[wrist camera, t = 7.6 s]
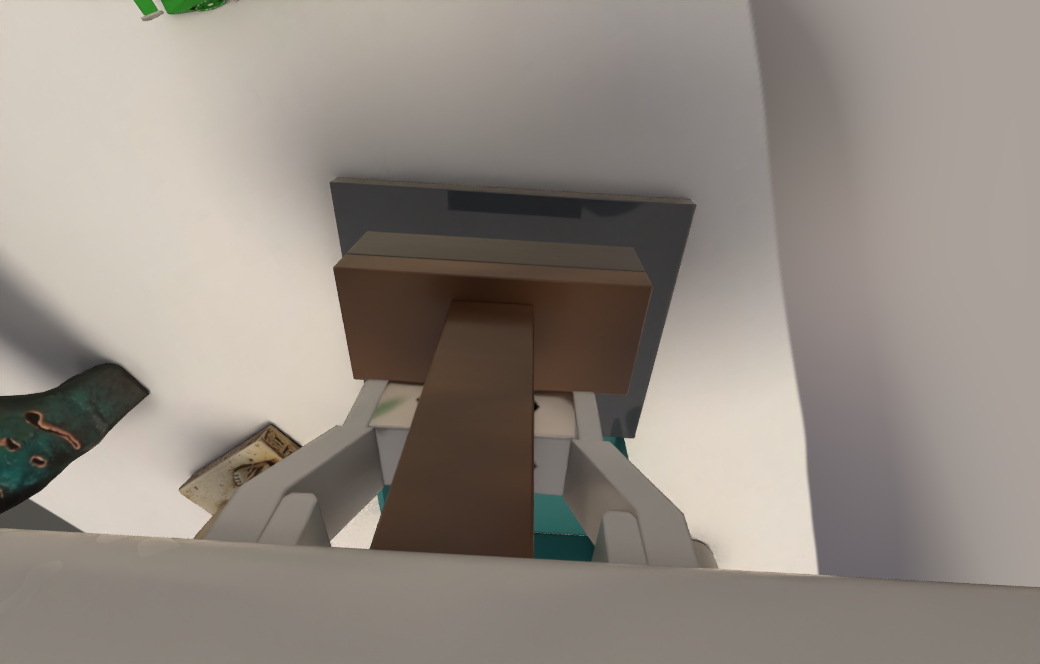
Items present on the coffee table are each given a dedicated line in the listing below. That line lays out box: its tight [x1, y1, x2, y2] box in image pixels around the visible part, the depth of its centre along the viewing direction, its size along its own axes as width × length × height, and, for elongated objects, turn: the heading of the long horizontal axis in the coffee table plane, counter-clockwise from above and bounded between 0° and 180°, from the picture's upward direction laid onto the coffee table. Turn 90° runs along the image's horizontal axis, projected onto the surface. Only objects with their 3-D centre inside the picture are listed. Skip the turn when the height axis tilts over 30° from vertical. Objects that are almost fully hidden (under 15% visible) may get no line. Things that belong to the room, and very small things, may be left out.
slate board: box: [330, 177, 696, 438], centre depth 26 cm, size 18×16×1 cm
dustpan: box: [377, 437, 629, 562], centre depth 36 cm, size 23×17×3 cm
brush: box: [333, 231, 653, 559], centre depth 11 cm, size 9×4×11 cm, turn 87°
